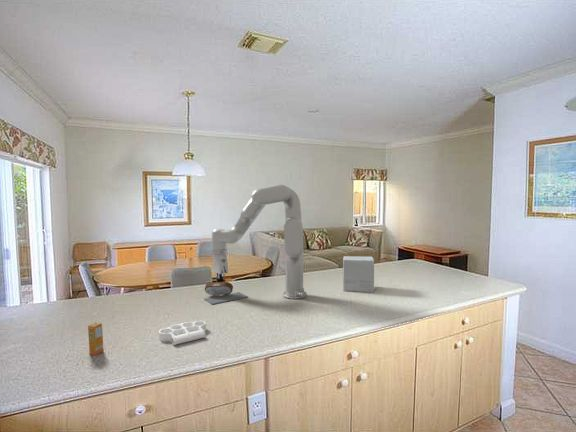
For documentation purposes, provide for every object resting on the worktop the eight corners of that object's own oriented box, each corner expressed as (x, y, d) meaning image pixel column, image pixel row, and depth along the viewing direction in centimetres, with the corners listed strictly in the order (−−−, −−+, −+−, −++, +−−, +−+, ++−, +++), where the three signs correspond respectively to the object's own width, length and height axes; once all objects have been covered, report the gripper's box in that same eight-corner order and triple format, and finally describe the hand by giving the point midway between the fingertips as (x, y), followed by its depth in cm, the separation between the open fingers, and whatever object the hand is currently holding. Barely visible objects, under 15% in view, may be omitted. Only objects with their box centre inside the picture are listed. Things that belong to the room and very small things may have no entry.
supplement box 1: (88, 354, 111) (87, 325, 110) (97, 349, 114) (96, 321, 113) (95, 355, 109) (94, 326, 109) (104, 351, 113) (103, 322, 112)
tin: (234, 290, 177) (231, 280, 172) (233, 295, 175) (230, 284, 169) (208, 292, 179) (203, 281, 174) (206, 296, 176) (202, 286, 171)
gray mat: (247, 297, 173) (247, 296, 173) (212, 304, 161) (212, 303, 161) (239, 293, 181) (239, 292, 181) (204, 299, 169) (204, 298, 169)
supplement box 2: (372, 286, 194) (372, 256, 194) (374, 292, 181) (374, 260, 180) (343, 285, 198) (343, 255, 197) (342, 291, 184) (343, 259, 183)
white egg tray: (164, 350, 114) (155, 335, 127) (213, 337, 124) (201, 325, 136) (164, 340, 114) (155, 327, 126) (213, 329, 124) (200, 317, 136)
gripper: (231, 253, 173) (232, 287, 174) (220, 249, 185) (220, 281, 186) (218, 254, 168) (219, 289, 169) (207, 251, 180) (208, 283, 181)
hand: (220, 285), depth 177 cm, fingers closed
